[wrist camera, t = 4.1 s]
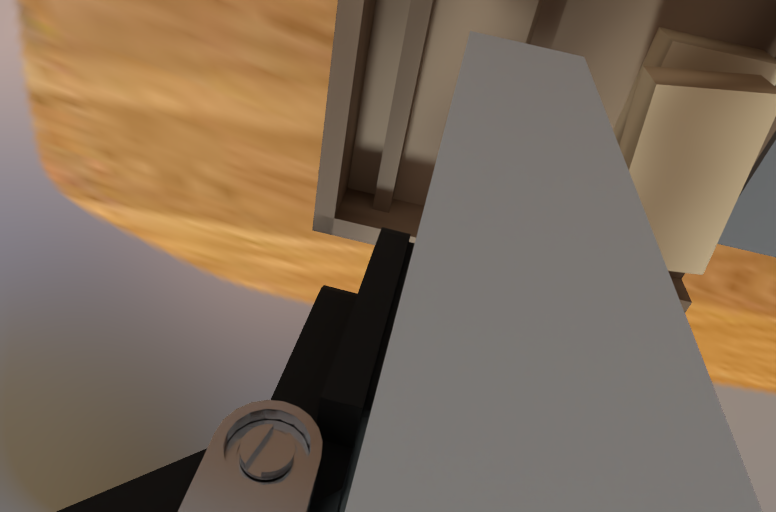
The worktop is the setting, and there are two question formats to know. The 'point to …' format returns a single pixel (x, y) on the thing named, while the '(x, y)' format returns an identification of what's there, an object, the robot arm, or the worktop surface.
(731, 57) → the offcut low
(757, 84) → the offcut top
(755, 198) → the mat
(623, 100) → the rack
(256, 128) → the worktop surface
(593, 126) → the board
